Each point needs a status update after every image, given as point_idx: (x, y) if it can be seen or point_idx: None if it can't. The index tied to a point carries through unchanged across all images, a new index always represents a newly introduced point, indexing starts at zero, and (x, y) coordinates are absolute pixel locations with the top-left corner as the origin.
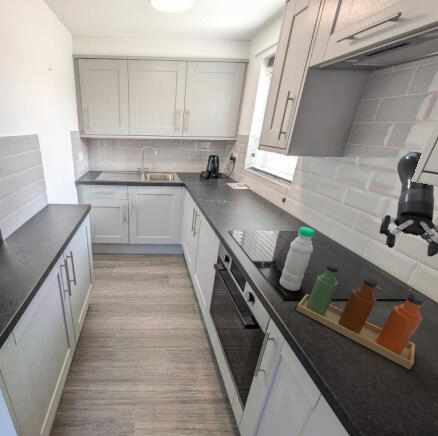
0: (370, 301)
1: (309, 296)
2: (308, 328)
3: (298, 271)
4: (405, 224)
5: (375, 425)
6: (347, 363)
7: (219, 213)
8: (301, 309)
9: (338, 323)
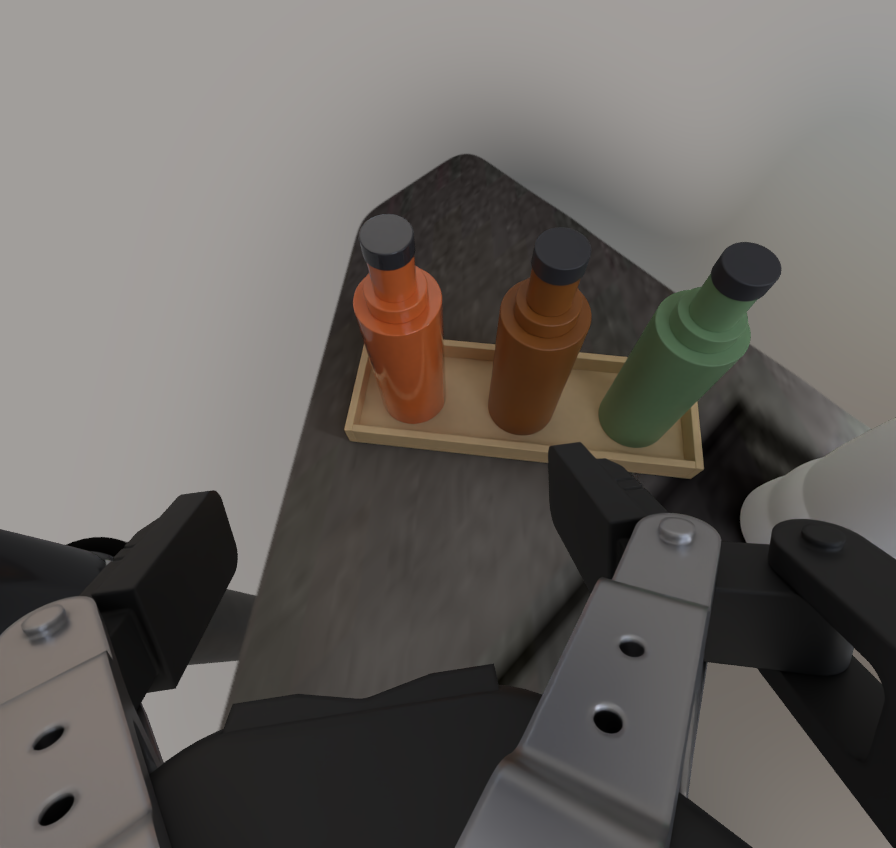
0: (519, 283)
1: (685, 461)
2: (615, 317)
3: (837, 448)
4: (610, 741)
5: (448, 167)
6: (503, 265)
7: None
8: None
9: None
